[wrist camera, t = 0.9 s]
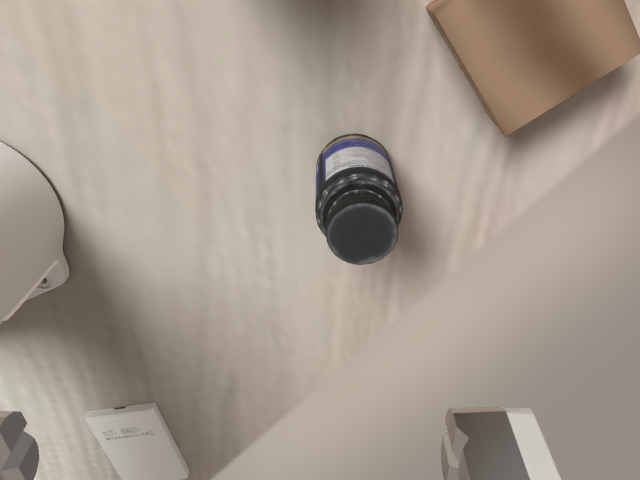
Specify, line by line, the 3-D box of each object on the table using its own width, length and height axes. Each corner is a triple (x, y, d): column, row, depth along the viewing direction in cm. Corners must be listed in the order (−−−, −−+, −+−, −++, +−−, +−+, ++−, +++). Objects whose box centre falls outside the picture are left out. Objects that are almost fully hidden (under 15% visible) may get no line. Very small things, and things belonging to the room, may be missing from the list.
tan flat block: (490, 118, 41) (505, 136, 38) (425, 7, 37) (435, 16, 34) (615, 38, 38) (644, 50, 35) (560, -93, 34) (586, -94, 31)
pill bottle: (368, 210, 46) (380, 286, 36) (304, 183, 44) (299, 256, 35) (403, 149, 43) (426, 215, 33) (335, 118, 42) (340, 178, 32)
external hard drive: (127, 474, 66) (87, 407, 60) (190, 467, 65) (156, 398, 59) (123, 486, 65) (81, 419, 58) (188, 479, 64) (152, 410, 58)
